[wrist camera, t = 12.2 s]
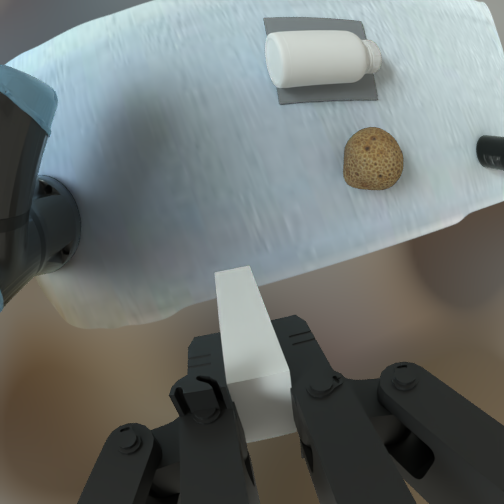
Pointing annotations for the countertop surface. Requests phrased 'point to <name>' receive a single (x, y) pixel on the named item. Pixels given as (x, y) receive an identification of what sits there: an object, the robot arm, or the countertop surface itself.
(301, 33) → the pill bottle
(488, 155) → the supplement bottle
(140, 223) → the countertop surface
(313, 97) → the mat
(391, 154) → the natural sponge
